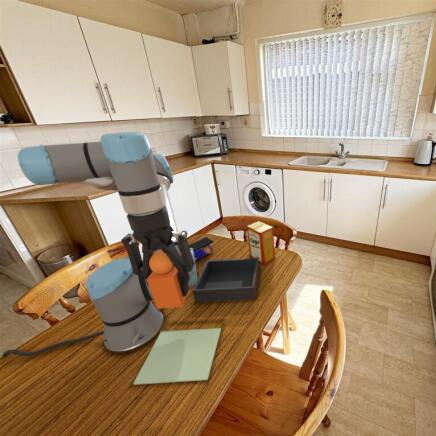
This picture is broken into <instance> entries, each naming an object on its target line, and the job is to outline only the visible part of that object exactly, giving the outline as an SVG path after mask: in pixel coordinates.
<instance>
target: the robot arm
mask: <svg viewBox="0 0 436 436" xmlns="http://www.w3.org/2000/svg"><path fill="white" fill-rule="evenodd" d="M17 162H18V165H19V167H20V170H21V173H23V175H24V176H25V178H26V179H27V180H28V181H29V182H31V183H32V184H33V185H36V186H47V185H57V184H64V183H65V184H66V183H68V184H69V183H70V184H78V185H87V186H89V187H92V188H94V189H96V190H102V191H103V190H104V191H115V192H118V196H119V199H120V202H121V205H122V208H123V211H124V213H125V214H127V215H126V219H127V222H128V224H129V227H130V229H131V231H132V233H127V234H125V236H123V237H122V238H121V239H120V242H121V243H122V245H123V246H124V247H125V249H126V252H127V256H128V257H121V258H117V259H113V260H112V261H108V262H106V263H105V264H103V265H101V266H100V267H98V268H97V269H95V270H94V271H93V272H92V273H91V274H90V275H89V276H88V278H87V280H86V283H85V288H86V290H87V293H88V297H89V299H90V301H91V302H92V304H93V305H94V306H93V307H94V308H95V310H96V311H97V314H98V315H99V318H100V320H101V321H102V323H103V330H101V331H98V332H95V333H91V334H88V335H86V336H82V337H79V338H74V339H69V340H63V341H61V342H57V343H53V344H52V345H48V346H46V347H43V348H41V349H37V350H34V351H24V350H18V349H8V350H6V351H4V352H3V353H2V355H1V357H2V358H4V357H6V356H8V355H16V356H21V357H32V356H36V355H40V354H43V353H46V352H48V351H50V350H53V349H56V348H58V347H62V346H67V345H71V344H76V343H79V342H84V341H87V340H91V339H93V338H97V337H100V336H103V344H104V346H105V348H106V350H107V351H108V352H109V353H110V354H114V355H125V354H130V353H133V352H135V351H137V350H139V349H141V348H143V347H145V346H147V345H148V344H149V343H151V342H152V341H153V340H154V339H155V338H156V337H158V336H159V335H160V333H161V331H162V330H161V329H162V328H163V326H164V320H165V319H164V316H163V313H162V312H161V311H160V309H157V307H156V305H154V304H153V303H152V301H154V298H153V295H152V292H151V290H150V287H149V284H148V281H147V279H148V277H149V276H150V275H151V273H152V272H153V271H152V270H151V268H150V266H149V260H150V258H151V256H152V255H153V254H154V253H155V252H157V251H160V250H162V251H163V253H166V255H167V256H168V257H169V259H170V260H171V262H172V263H173V265H174V266H175V267H176V269H177V270H178V272H179V273H178V274H177V278H178V281H179V285H180V288H181V292H182V295H183V297H184V296H186V295H187V293H188V291H189V288H192V287H195V285H196V283H197V281H198V275H197V273H198V272H197V265H196V260H195V258H194V251H193V249H192V248H189V245H190V244H189V242H188V231H187V230H182V231H179V230H178V226H177V222H176V219H175V215H174V212H173V207H172V202H171V199H170V196H169V192H168V191H169V190H170V189H171V184H173V183H174V176H173V173H172V170H171V168H170V165H169V162H168V161H167V159H166V157H165V156H164V155H163V154H161V153H153V149H152V148H151V145H150V144H149V139H148V137H147V135H146V134H145V133H144V132H141V131H121V132H110V133H105V134H102V135H101V136H100V141H89V142H80V143H79V142H77V143H62V144H61V143H60V144H47V145H45V144H44V145H43V144H39V145H34V146H27V147H23V148H20V149H19V151H18V152H17ZM139 243H140V244H141V250H140V246H139ZM141 253H142V254H141ZM189 292H190V291H189ZM12 351H13V352H12ZM10 352H11V353H10ZM9 353H10V354H9ZM7 354H8V355H7ZM5 355H6V356H5Z"/></svg>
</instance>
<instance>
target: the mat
mask: <svg viewBox="0 0 436 436" xmlns="http://www.w3.org/2000/svg"><path fill="white" fill-rule="evenodd" d="M221 332H222V327H209V328H192V329H191V328H190V329H175V330H160V332H159V334H158V336H157V338H156V340H155V342H154V344H153V346H152V348H151V350H150V352H149V353H148V355H147V357H146V359H145V361H144V362H143V365H142V366H141V368H140V370H139V372H138V374H137V376H136V378H135V379H134V381H133V386H135V385H137V386H139V385H151V384H166V383H167V384H169V383H183V382H197V381H208V380H209V377H210V373H211V369H212V365H213V362H214V358H215V355H216V350H217V346H218V343H219V339H220V336H221Z"/></svg>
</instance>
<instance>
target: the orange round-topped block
mask: <svg viewBox="0 0 436 436" xmlns="http://www.w3.org/2000/svg"><path fill="white" fill-rule="evenodd" d="M149 266H150V268H151V270H152V271H153V272H152V273H151V275H150V276H149V277H148V279H147V281H148V284H149V287H150V290H151V292H152V295H153V298H154V300H153V301H154V304H155V307H156V308H157V309H158V310H160V309H172V308H173V309H175V308H183V306H184V304H185V302H186V300H187V298H188V296H189V293H190V291H191V287H189V291H188V293H187V295H186V296H184V297H183V295H182V292H181V288H180V285H179V281H178V278H177V274H178V273H179V272H178V270H177V269H176V267H175V266H174V265H173V263H172V262H171V260H170V259H169V257H168V256H167V255H166V253H163V251H162V250H160V251H157V252H155V253H154V254H153V255H152V256H151V258H150V260H149Z"/></svg>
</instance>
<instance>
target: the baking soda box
mask: <svg viewBox="0 0 436 436" xmlns="http://www.w3.org/2000/svg"><path fill="white" fill-rule="evenodd" d="M245 228H246V233H247V234H246V236H247V242H248V243H247V244H248V251H249V256H250V258H258V260H259V263H261V264H262V265H265V264H267V263H269V262H270V261H272V260H274V259H275V258H276V252H275V239H274V237H275V236H274V227H273V226H272V225H268V224H266V223H264V222H261V221H260V220H258V221H255V222H252V223H250V224H248V225H246V227H245Z"/></svg>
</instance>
